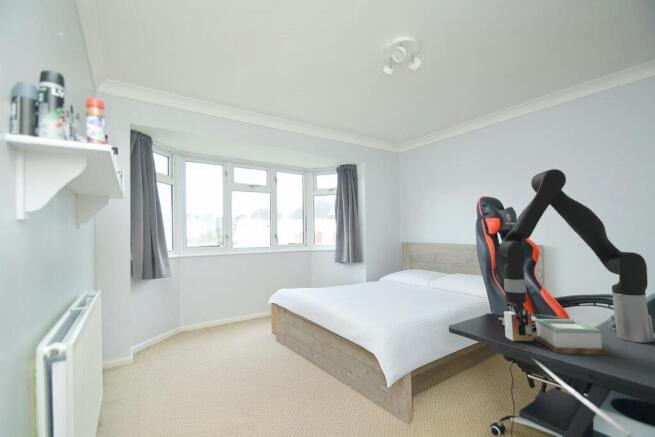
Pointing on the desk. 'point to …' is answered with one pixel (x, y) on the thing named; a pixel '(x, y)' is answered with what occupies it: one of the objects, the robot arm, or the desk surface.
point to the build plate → (571, 350)
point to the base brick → (568, 333)
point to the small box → (512, 327)
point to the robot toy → (532, 321)
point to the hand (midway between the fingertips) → (518, 332)
